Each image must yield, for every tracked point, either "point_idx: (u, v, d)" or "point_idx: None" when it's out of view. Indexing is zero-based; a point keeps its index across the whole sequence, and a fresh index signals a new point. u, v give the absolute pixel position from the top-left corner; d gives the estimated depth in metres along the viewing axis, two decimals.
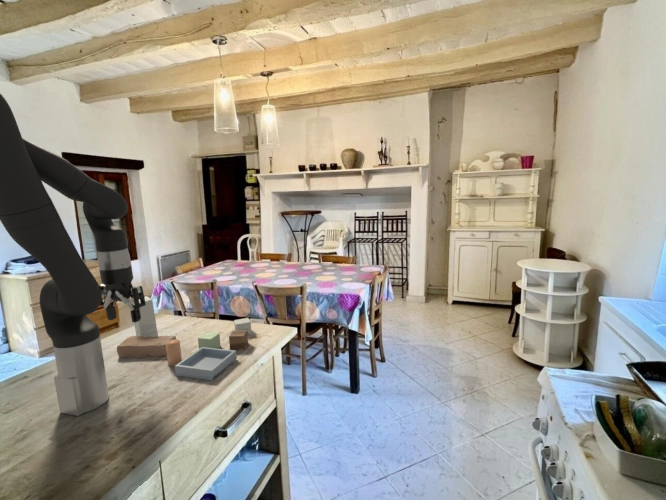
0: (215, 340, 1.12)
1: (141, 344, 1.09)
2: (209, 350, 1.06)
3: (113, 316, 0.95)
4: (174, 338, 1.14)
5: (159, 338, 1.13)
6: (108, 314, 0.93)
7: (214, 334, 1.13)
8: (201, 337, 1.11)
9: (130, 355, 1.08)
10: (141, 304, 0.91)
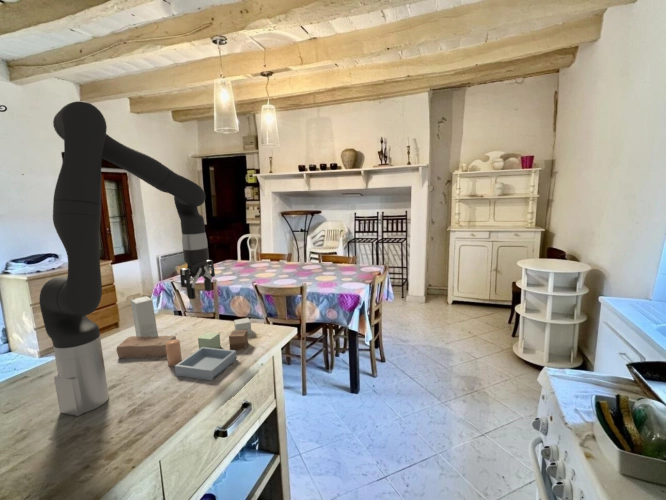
0: (215, 340, 1.12)
1: (141, 344, 1.09)
2: (209, 350, 1.06)
3: None
4: (174, 338, 1.14)
5: (159, 338, 1.13)
6: (194, 293, 1.05)
7: (214, 334, 1.13)
8: (201, 337, 1.11)
9: (130, 355, 1.08)
10: None
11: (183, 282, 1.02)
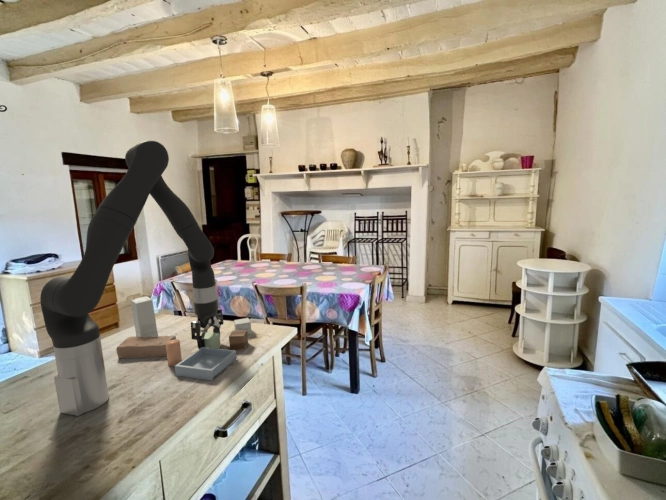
0: (215, 340, 1.12)
1: (141, 344, 1.09)
2: (209, 350, 1.06)
3: None
4: (174, 338, 1.15)
5: (159, 338, 1.13)
6: (204, 344, 1.09)
7: (214, 334, 1.13)
8: None
9: (130, 356, 1.08)
10: None
11: (193, 334, 1.06)
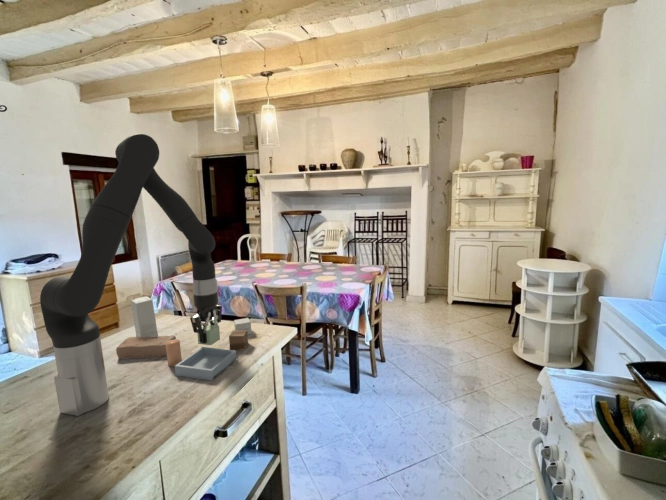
0: (214, 332, 1.10)
1: (141, 344, 1.09)
2: (209, 350, 1.06)
3: None
4: (174, 338, 1.15)
5: (159, 338, 1.13)
6: (206, 337, 1.09)
7: (214, 326, 1.12)
8: None
9: (130, 356, 1.07)
10: None
11: (195, 328, 1.06)
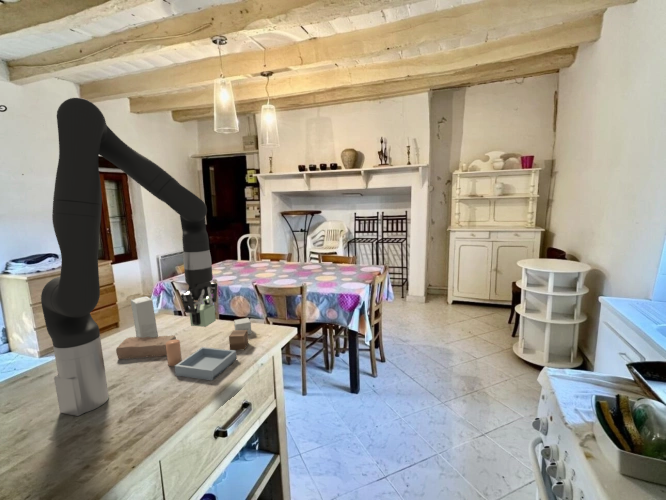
0: (209, 312, 0.97)
1: (142, 345, 1.09)
2: (209, 350, 1.06)
3: None
4: (174, 338, 1.15)
5: (159, 338, 1.13)
6: (199, 318, 0.95)
7: (208, 306, 0.98)
8: None
9: (130, 356, 1.07)
10: None
11: (187, 307, 0.93)
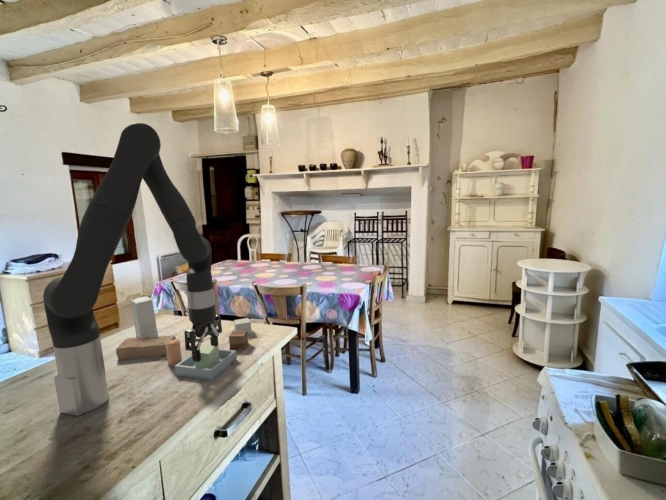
0: (213, 354, 0.99)
1: (142, 345, 1.08)
2: None
3: None
4: (174, 337, 1.15)
5: (159, 338, 1.13)
6: (199, 355, 0.95)
7: (212, 347, 1.01)
8: None
9: (131, 356, 1.07)
10: None
11: (188, 345, 0.93)
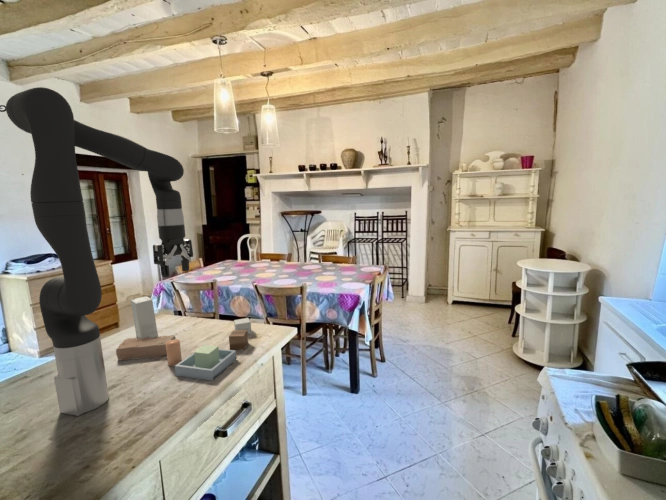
0: (213, 354, 0.99)
1: (142, 345, 1.08)
2: None
3: None
4: (174, 337, 1.15)
5: (159, 338, 1.13)
6: (168, 271, 1.00)
7: (212, 347, 1.01)
8: (198, 351, 0.98)
9: (131, 357, 1.07)
10: None
11: (156, 259, 0.98)
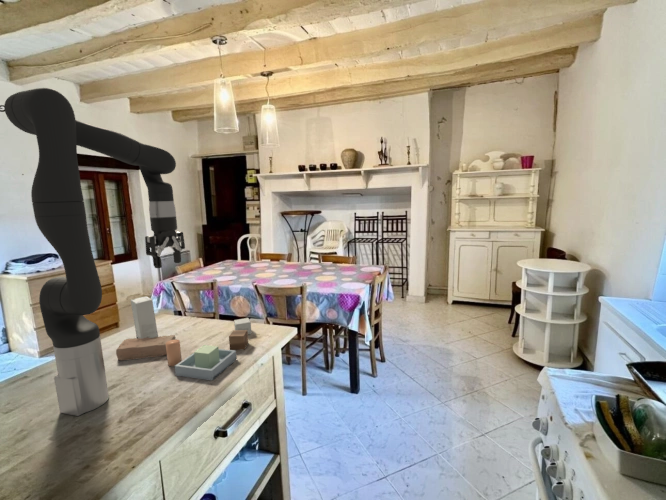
0: (213, 354, 0.99)
1: (142, 345, 1.08)
2: None
3: None
4: (174, 337, 1.15)
5: (159, 338, 1.13)
6: (160, 262, 1.02)
7: (212, 347, 1.01)
8: (198, 351, 0.98)
9: (131, 357, 1.07)
10: None
11: (148, 250, 1.00)
